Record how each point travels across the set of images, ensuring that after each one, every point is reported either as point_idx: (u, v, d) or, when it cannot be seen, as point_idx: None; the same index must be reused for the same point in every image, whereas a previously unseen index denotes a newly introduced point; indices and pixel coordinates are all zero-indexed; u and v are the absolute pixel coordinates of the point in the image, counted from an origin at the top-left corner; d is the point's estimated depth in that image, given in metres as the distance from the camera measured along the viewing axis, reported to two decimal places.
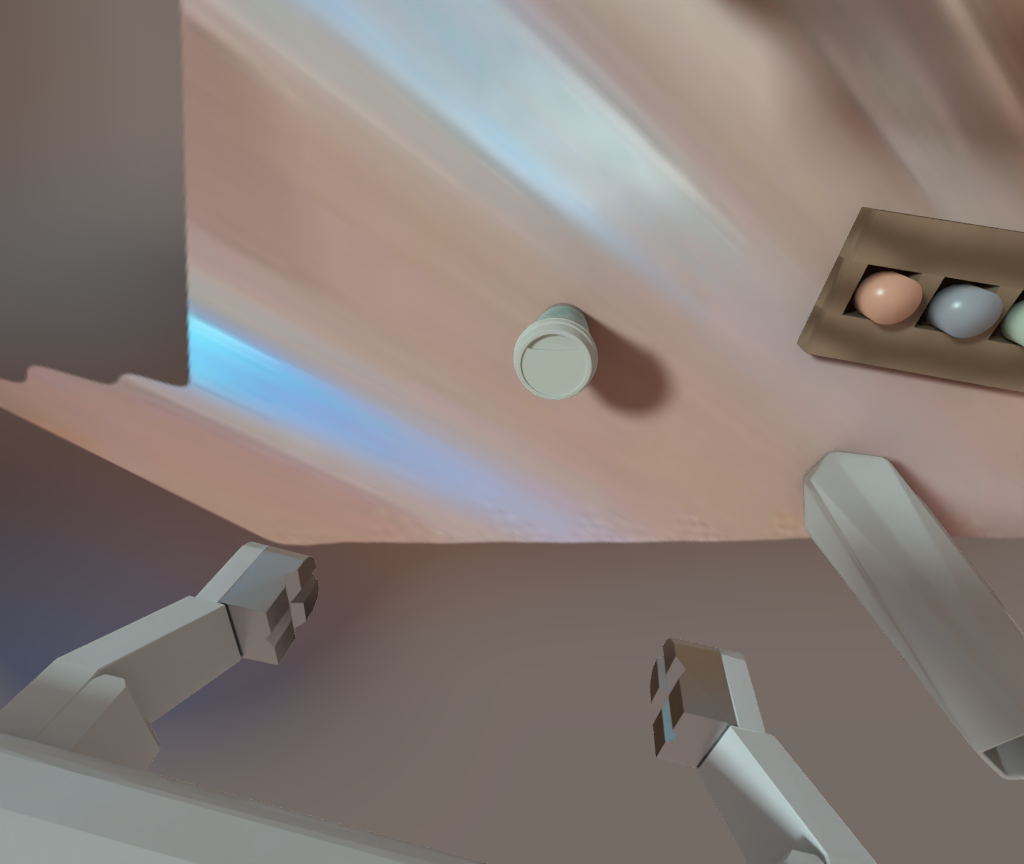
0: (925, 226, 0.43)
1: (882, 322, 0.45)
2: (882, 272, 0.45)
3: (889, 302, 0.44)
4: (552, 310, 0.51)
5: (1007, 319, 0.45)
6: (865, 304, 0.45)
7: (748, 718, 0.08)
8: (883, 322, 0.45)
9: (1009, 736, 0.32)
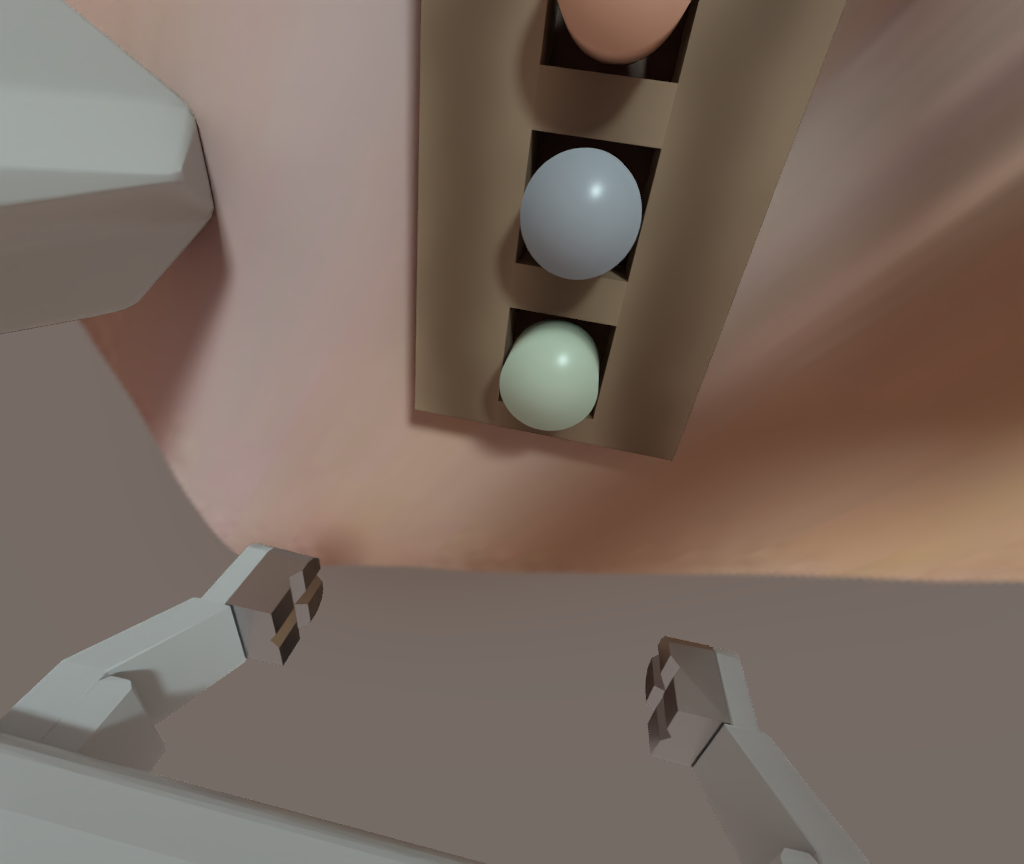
0: (814, 27, 0.15)
1: None
2: None
3: None
4: None
5: (555, 323, 0.22)
6: None
7: (742, 717, 0.08)
8: None
9: None
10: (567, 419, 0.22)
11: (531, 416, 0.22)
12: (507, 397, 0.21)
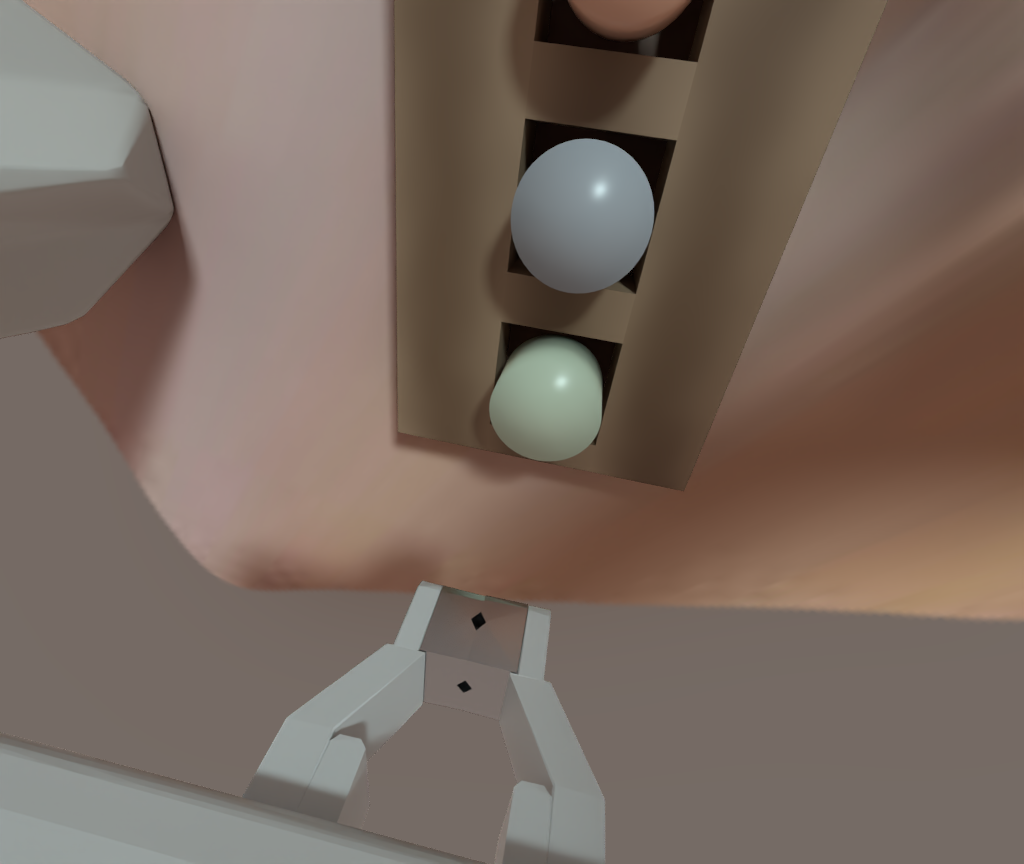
0: None
1: None
2: None
3: None
4: None
5: (553, 340, 0.19)
6: None
7: (530, 666, 0.09)
8: None
9: None
10: (566, 449, 0.19)
11: (525, 445, 0.19)
12: (498, 424, 0.19)
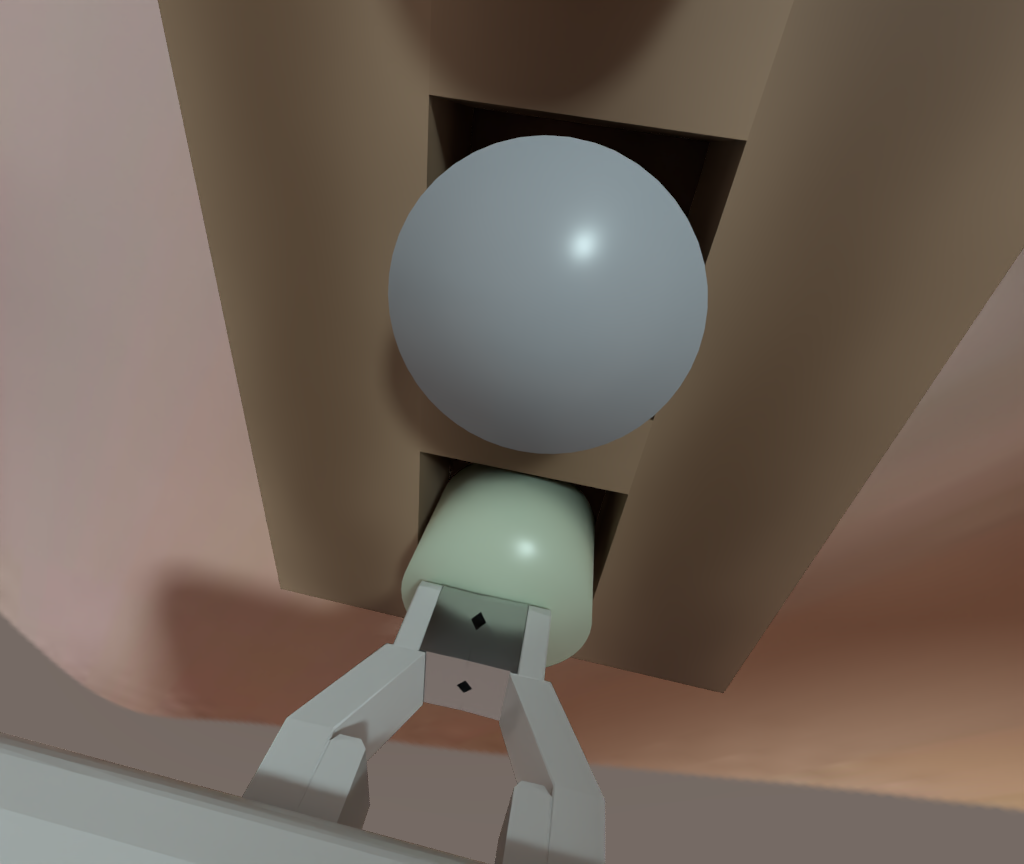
0: None
1: None
2: None
3: None
4: None
5: (511, 472, 0.12)
6: None
7: (531, 667, 0.09)
8: None
9: None
10: None
11: None
12: None
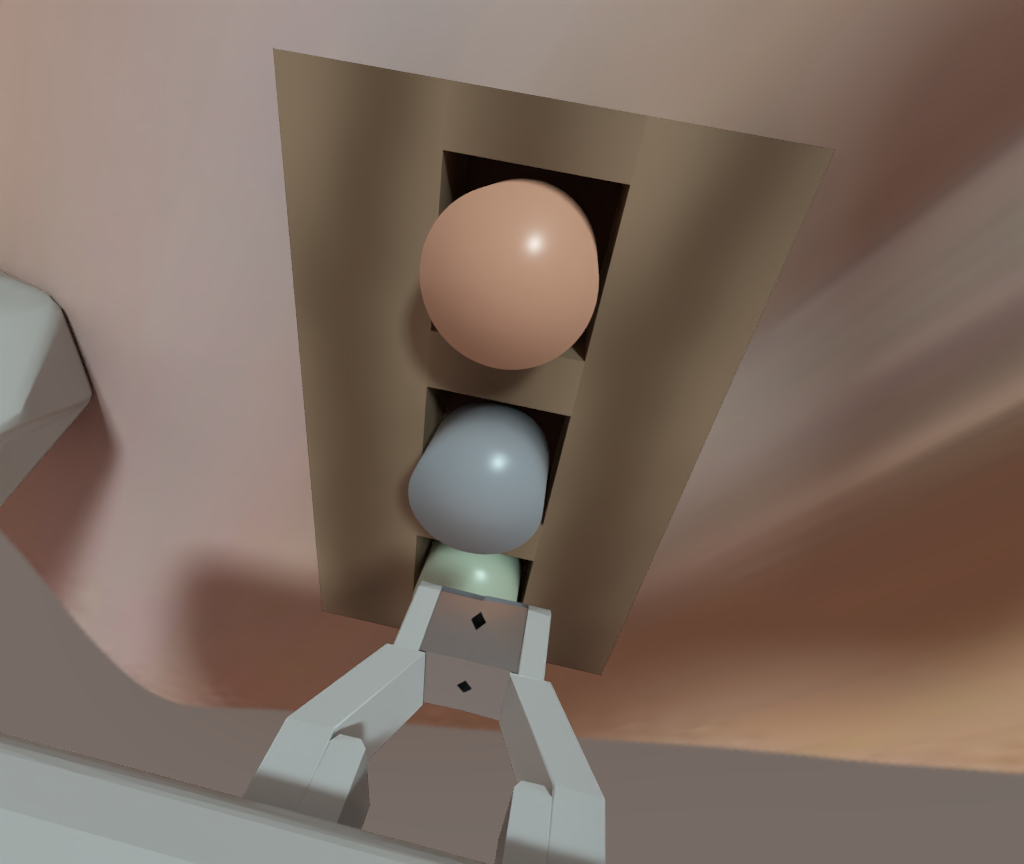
0: (730, 327, 0.14)
1: (426, 269, 0.12)
2: (596, 245, 0.13)
3: (502, 270, 0.11)
4: None
5: None
6: (491, 184, 0.11)
7: (530, 666, 0.09)
8: (427, 273, 0.12)
9: None
10: None
11: None
12: None
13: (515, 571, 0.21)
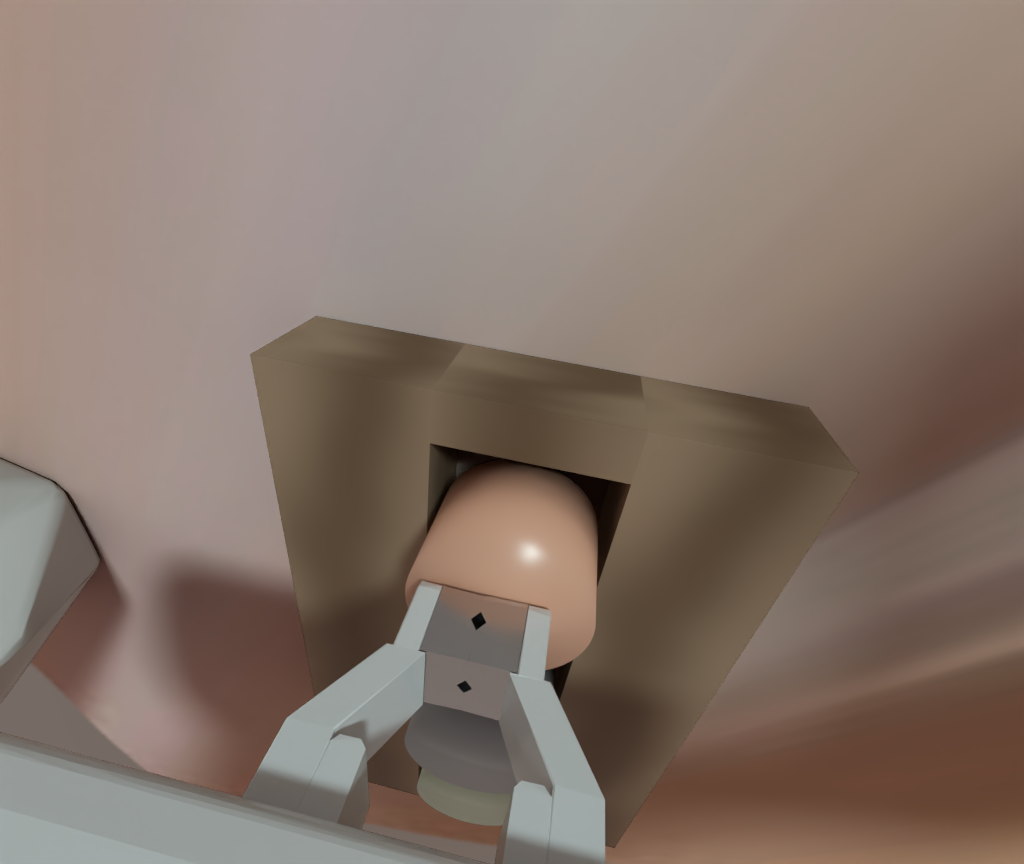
0: (744, 603, 0.13)
1: (412, 593, 0.11)
2: (595, 528, 0.12)
3: None
4: None
5: None
6: (477, 527, 0.10)
7: (531, 667, 0.09)
8: (413, 596, 0.11)
9: None
10: (491, 821, 0.20)
11: (454, 813, 0.20)
12: (426, 798, 0.20)
13: None
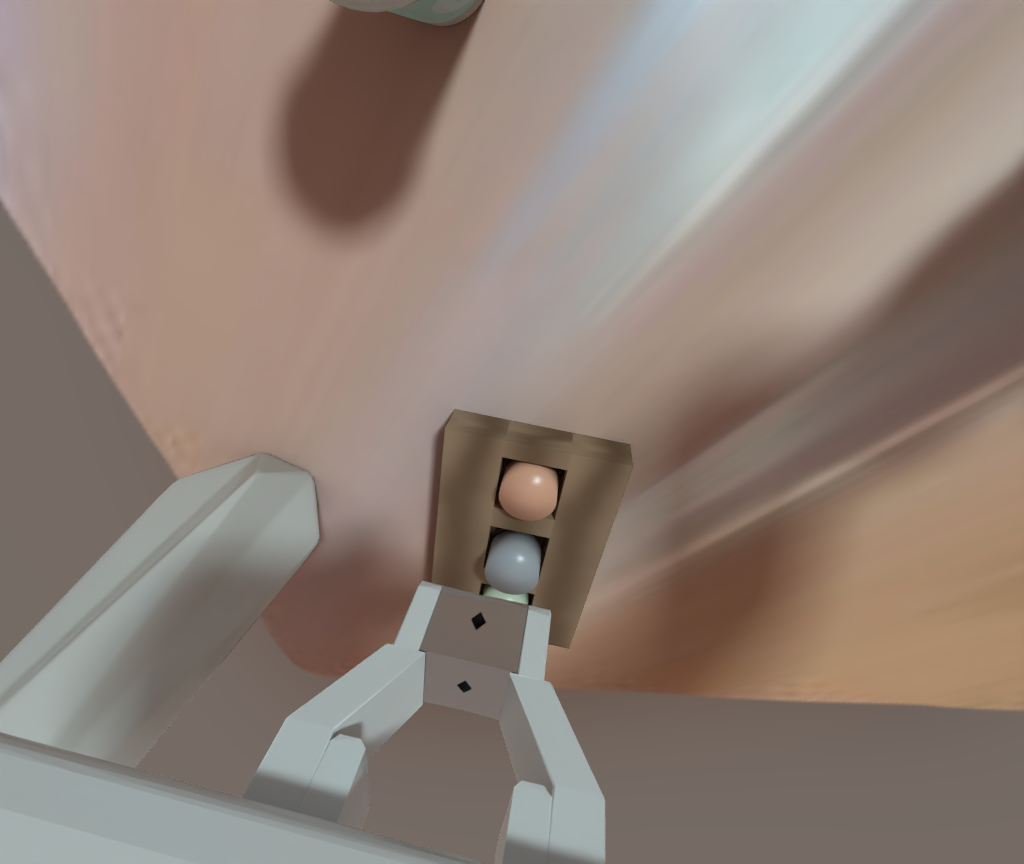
0: (607, 512, 0.36)
1: (501, 493, 0.36)
2: (557, 474, 0.37)
3: (526, 494, 0.35)
4: None
5: None
6: (522, 471, 0.35)
7: (530, 666, 0.09)
8: (501, 493, 0.36)
9: None
10: None
11: None
12: None
13: (526, 598, 0.43)
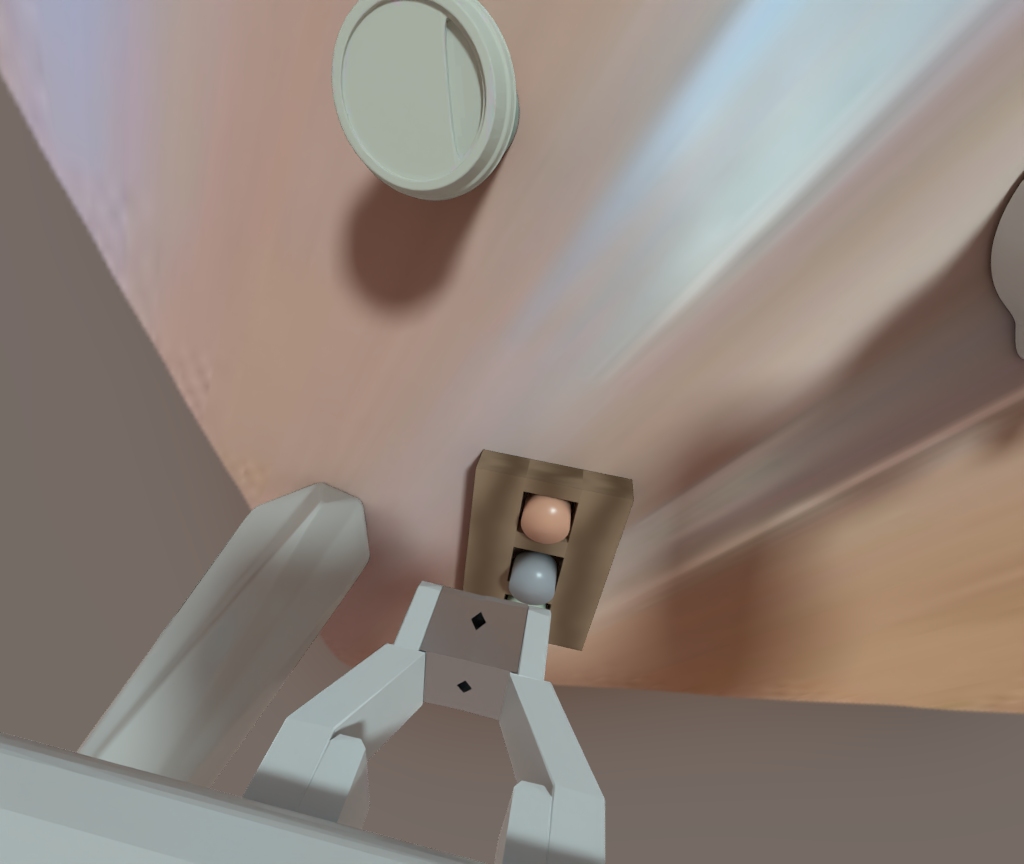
0: (613, 537, 0.43)
1: (523, 521, 0.42)
2: (570, 505, 0.44)
3: (544, 522, 0.42)
4: None
5: None
6: (541, 503, 0.42)
7: (530, 667, 0.09)
8: (523, 521, 0.42)
9: None
10: None
11: None
12: None
13: (544, 607, 0.50)
